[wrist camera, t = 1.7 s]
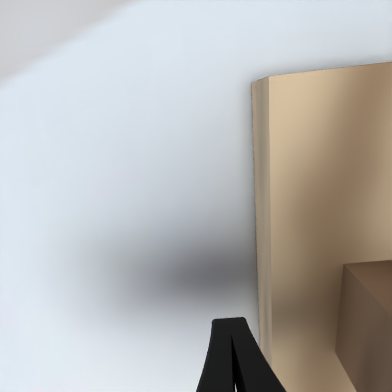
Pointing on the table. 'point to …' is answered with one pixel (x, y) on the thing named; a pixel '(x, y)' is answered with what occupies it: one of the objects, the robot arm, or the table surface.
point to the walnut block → (366, 325)
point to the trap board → (318, 209)
